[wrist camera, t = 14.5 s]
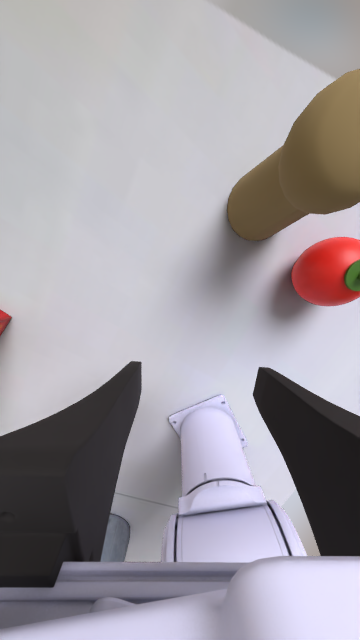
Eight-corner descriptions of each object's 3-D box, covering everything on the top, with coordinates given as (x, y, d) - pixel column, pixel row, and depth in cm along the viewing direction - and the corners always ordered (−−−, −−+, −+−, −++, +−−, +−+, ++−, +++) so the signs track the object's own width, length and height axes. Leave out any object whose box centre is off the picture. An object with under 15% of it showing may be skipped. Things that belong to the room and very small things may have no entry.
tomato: (342, 284, 20) (420, 294, 14) (288, 308, 21) (339, 329, 14) (329, 230, 19) (412, 212, 12) (272, 258, 19) (321, 255, 13)
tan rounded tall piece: (253, 154, 17) (385, -33, 6) (303, 195, 18) (490, 96, 7) (214, 218, 18) (267, 157, 8) (263, 253, 19) (369, 241, 9)
